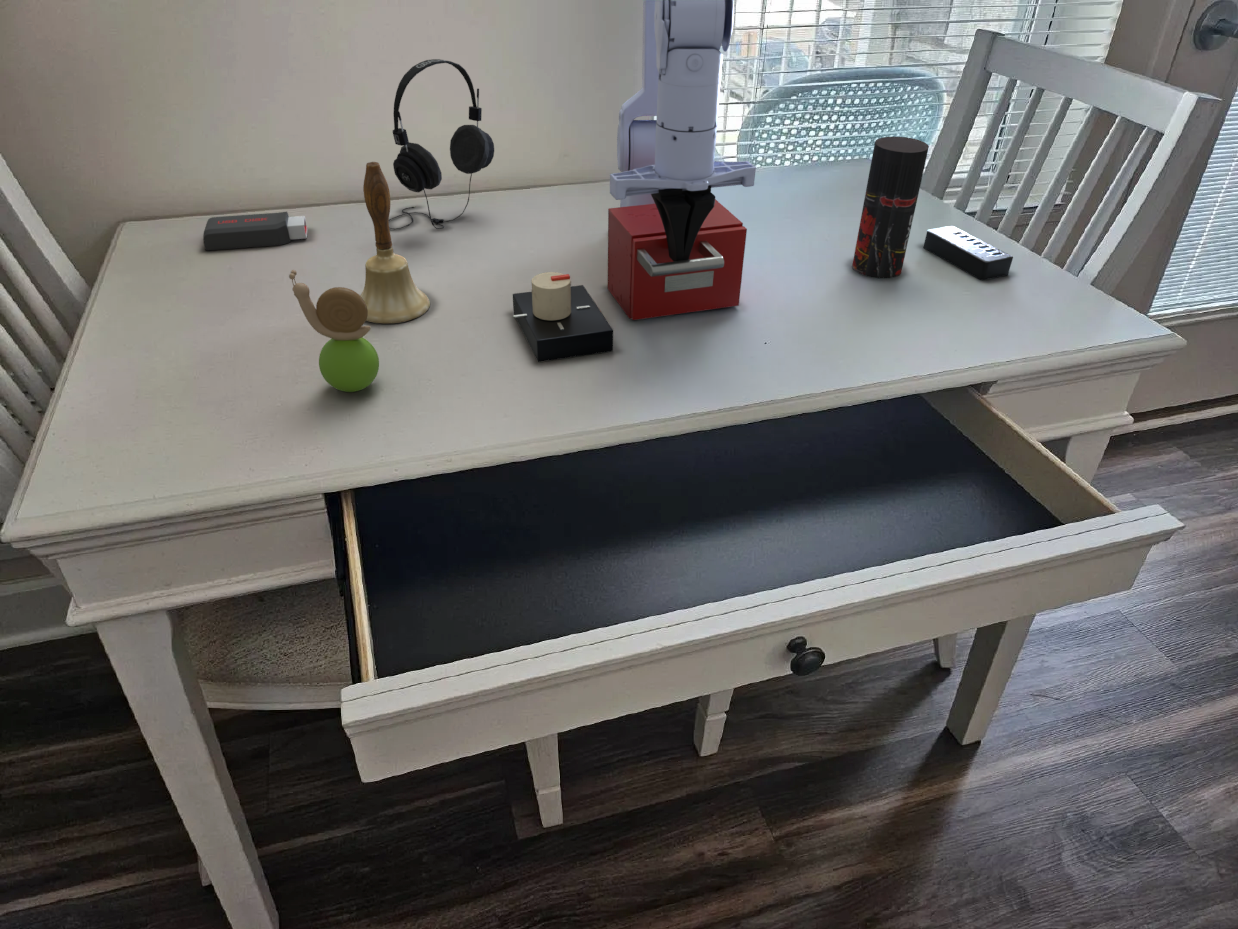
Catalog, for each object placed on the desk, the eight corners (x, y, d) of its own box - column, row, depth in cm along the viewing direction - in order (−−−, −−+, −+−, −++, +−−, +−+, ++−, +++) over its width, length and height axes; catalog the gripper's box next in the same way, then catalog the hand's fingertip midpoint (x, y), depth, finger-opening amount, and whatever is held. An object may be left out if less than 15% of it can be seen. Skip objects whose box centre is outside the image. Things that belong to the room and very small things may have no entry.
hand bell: (443, 297, 101) (427, 155, 92) (406, 329, 95) (385, 181, 85) (379, 285, 103) (357, 145, 94) (338, 316, 97) (311, 170, 87)
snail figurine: (319, 374, 87) (295, 258, 80) (386, 372, 88) (367, 257, 81) (308, 404, 83) (281, 285, 76) (378, 402, 83) (358, 283, 76)
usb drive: (210, 234, 114) (205, 213, 113) (307, 227, 117) (303, 207, 115) (205, 250, 110) (199, 229, 109) (306, 243, 113) (302, 222, 111)
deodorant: (902, 280, 107) (930, 154, 98) (852, 275, 108) (875, 150, 99) (900, 260, 112) (927, 138, 103) (852, 256, 112) (874, 134, 103)
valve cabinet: (607, 288, 104) (608, 208, 98) (707, 275, 107) (713, 197, 101) (629, 319, 98) (631, 235, 92) (734, 304, 101) (743, 222, 95)
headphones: (447, 193, 128) (432, 41, 116) (506, 211, 123) (497, 54, 111) (366, 224, 118) (341, 62, 106) (427, 245, 113) (407, 77, 101)
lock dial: (538, 323, 91) (536, 287, 89) (528, 306, 94) (527, 271, 92) (575, 317, 92) (575, 283, 90) (565, 301, 95) (564, 267, 93)
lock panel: (503, 315, 98) (502, 293, 96) (583, 305, 100) (583, 283, 99) (527, 364, 90) (525, 340, 88) (613, 351, 92) (613, 328, 90)
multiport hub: (981, 280, 107) (986, 262, 106) (921, 246, 115) (925, 229, 114) (1009, 274, 109) (1015, 256, 107) (948, 241, 117) (952, 224, 115)
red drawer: (630, 317, 97) (632, 238, 92) (736, 302, 100) (744, 225, 95) (647, 341, 93) (651, 259, 88) (757, 325, 96) (767, 245, 91)
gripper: (627, 141, 79) (624, 283, 87) (775, 129, 83) (759, 266, 91) (603, 119, 84) (602, 255, 92) (743, 109, 88) (730, 240, 96)
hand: (678, 259), depth 92 cm, fingers closed
